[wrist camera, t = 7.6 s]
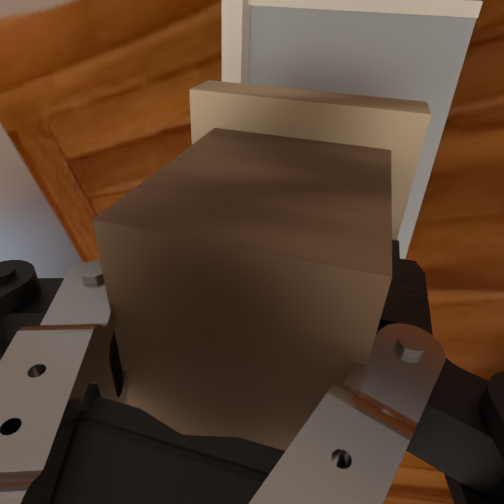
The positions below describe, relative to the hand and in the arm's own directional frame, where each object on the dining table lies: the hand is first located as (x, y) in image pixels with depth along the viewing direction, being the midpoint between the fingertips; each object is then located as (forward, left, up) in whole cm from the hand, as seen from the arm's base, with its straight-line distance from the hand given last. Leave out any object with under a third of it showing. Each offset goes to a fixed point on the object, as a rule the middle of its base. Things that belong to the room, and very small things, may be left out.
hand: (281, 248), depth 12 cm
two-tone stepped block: (0, 0, -2) cm, 2 cm away
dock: (0, 0, -14) cm, 14 cm away
